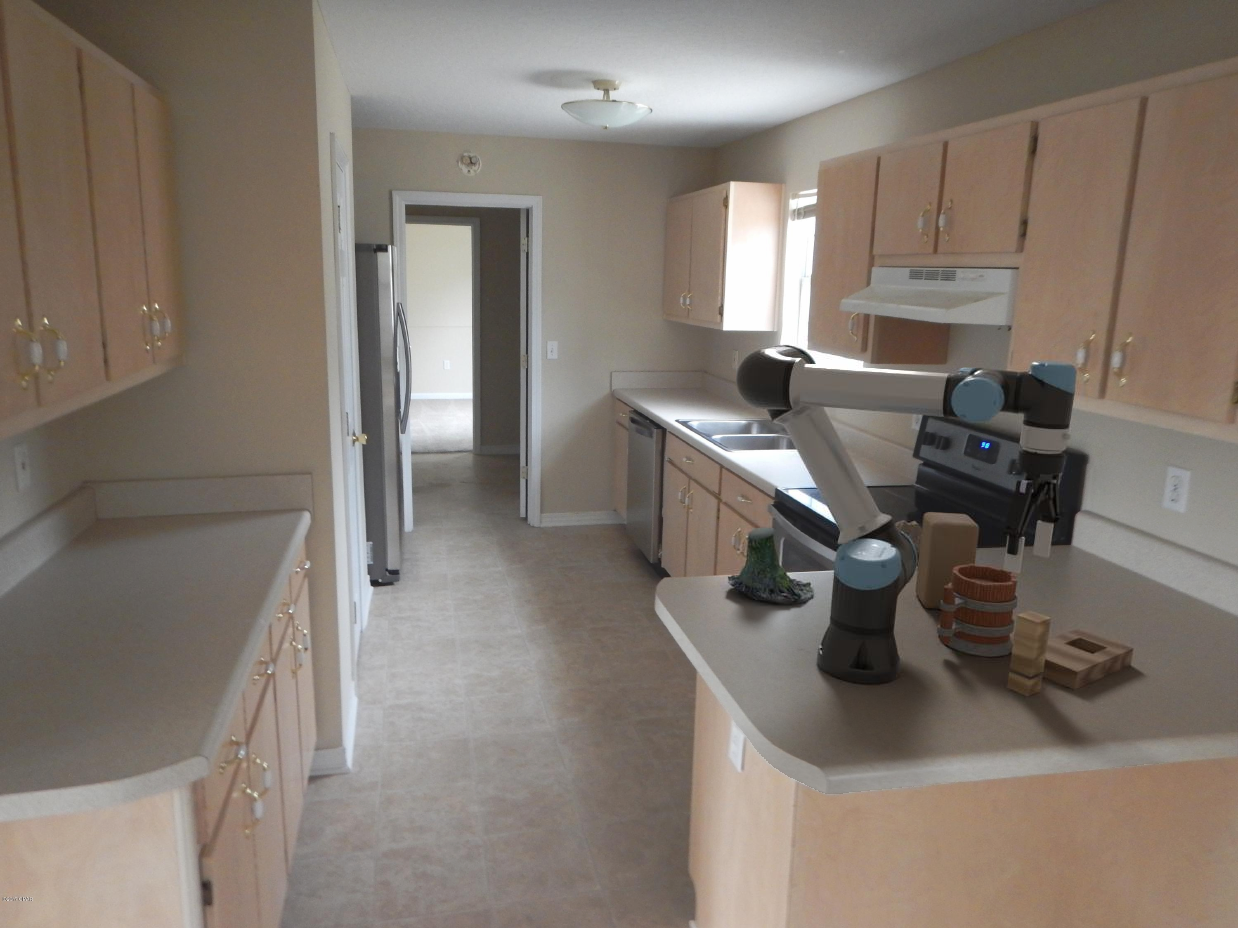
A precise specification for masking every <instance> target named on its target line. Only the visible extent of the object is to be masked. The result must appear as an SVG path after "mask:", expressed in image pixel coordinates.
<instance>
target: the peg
mask: <svg viewBox="0 0 1238 928" xmlns="http://www.w3.org/2000/svg"><path fill="white" fill-rule="evenodd" d="M1051 619H1052V618H1051V617H1049V616H1047V615H1044V614H1042V613H1041V614H1040V613H1037V612H1036V611H1033V610H1028V611H1024V612H1022V613H1018V614H1016V621H1015V625H1014V635H1013V636H1014V637H1013V640H1012V643H1013V648H1012V652H1011V658H1010V663H1009V669H1008V672H1009V673H1008V679H1007V686H1006V687H1007V688H1008V689H1009V690H1012V691H1015V692H1017V693H1019V694H1021V695H1024V696H1026V697H1029V696H1032V695H1035V694H1036V693H1039V692H1041V691H1042V690H1041V688H1042V682H1043V678H1044V677H1043V673H1044V671H1043V670H1044V663H1045V656H1046V649H1047V642H1048V639H1049V634H1050V628H1051V623H1052V622H1051Z"/></svg>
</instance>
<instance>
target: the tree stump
mask: <svg viewBox="0 0 1238 928" xmlns="http://www.w3.org/2000/svg"><path fill="white" fill-rule="evenodd" d="M775 542H776V541H775V529H774V528H773V527H769V526H762V527H761V526H760V527H756V528H754V529H752V530H751V531H749V532H748V535H747V549H746V550H747V551H746V559H745V565H744V566H743V567H742V568H741V570H740V572H739V574H732V575H731V576H729V575H728V576H727V580H728V581H727V583H728V585H730V586H731V587H732V588H734V589H736V590H738V591H739V592H741V593H742V594H745V595H746V596H748V597H750V598H751V599H752V600H754V601H757V602H761V603H762V602H763V603H769V604H776V605H781V606H782V605H786V606H788V605H797V604H802V603H806V602H807V601H808V600H809V601H810V600H811V599H814V597H815V592H814V591H815V590H814V588H813V587H812V586H811V585H812V583H811V582H803V581H801V580H797V579H795V578H791V577H790V575H788V573H787V571H786V569H784V567H782V566H781V564H780V562H779V556H778V553H777V552H778V551H777V546H776V543H775Z"/></svg>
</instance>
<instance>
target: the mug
mask: <svg viewBox="0 0 1238 928" xmlns="http://www.w3.org/2000/svg"><path fill="white" fill-rule="evenodd" d="M1017 583H1018V578H1017V575H1016V574H1013V572H1011V571H1007V570H1003V568H1002V567H1001V568H998V567H993V566H991V565H986V564H985V565H982V564H975V565H974V564H968V565H961V566H956V567H954V568H953V572H952V581H951V583H950V584H949V585H945V586H944V596H943V600H942V601H941V604H940V608H941V609H940V613H941V615H940V621H939V624H938V625H937V630H936V633H937V634H938V635H937V637H938V639H939V642H940V644H942V645H946V646H948V647H949V648H950V649H953V650H954V651H957V652H960V653H963V654H967V655H969V656H970V655H971V656H973V657H974V656H976V657H981V658H997V657H998V658H999V657H1003V656H1006V655H1008V654H1010V653H1012V648H1013V640H1012V639H1011V637H1010V636H1011V634H1012V633H1013V632H1014V631H1015V625H1016V621H1015V619H1014V617H1013V615H1014V610H1015V609H1016V608H1017V606H1018V602H1019V601H1018V599H1019V596H1018V594H1017V593H1016V591H1017V585H1018V584H1017Z"/></svg>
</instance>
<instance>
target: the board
mask: <svg viewBox="0 0 1238 928" xmlns="http://www.w3.org/2000/svg"><path fill="white" fill-rule="evenodd" d="M1133 654H1134V647H1131V646H1129V645H1125V644H1124V643H1119V642H1117V641H1114V640H1111V639H1108V638H1106V637H1104V636H1101V635H1097V634H1094V633H1091V632H1089V631H1086V630H1084V629H1081V628H1076V629H1073V630H1070V631H1067V632H1065V633H1063V634H1060V635H1057V636H1055V637H1054V636H1053V637H1052V638H1048V642H1047V649H1046V656H1045V663H1044V670H1043V671H1044V673H1043V677H1042V678H1045V679H1048V680H1050V681H1053V682H1055V683H1058V684H1059V685H1063V686H1065V687H1068V688H1071V689H1073V690H1077V689H1079V688H1081V687H1083V686H1087V685H1089V684H1092V683H1093V682H1095V681H1098V680H1101V679H1102V678H1105V677H1107V676H1109V675H1112V674H1113V673H1116V672H1118V671H1120V670H1123V669H1125V668H1128V667H1130V666H1131V664H1132V660H1133Z"/></svg>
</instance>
